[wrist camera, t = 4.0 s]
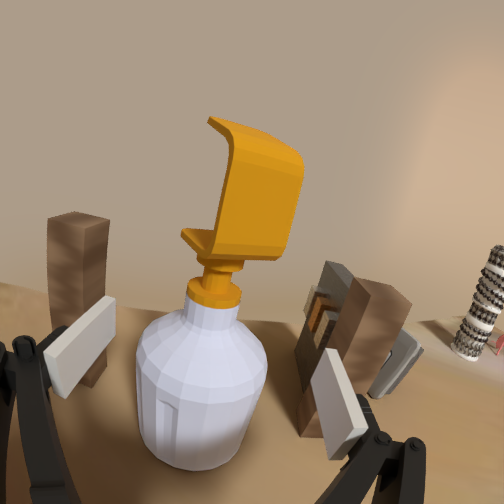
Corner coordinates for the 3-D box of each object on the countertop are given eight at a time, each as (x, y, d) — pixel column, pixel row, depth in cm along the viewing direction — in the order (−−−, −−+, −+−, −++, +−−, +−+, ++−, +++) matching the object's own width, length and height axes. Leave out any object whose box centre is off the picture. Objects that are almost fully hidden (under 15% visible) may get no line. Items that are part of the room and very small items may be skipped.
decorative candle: (445, 349, 46) (489, 239, 40) (452, 338, 52) (490, 242, 45) (476, 366, 39) (524, 255, 33) (479, 354, 45) (520, 256, 39)
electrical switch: (341, 361, 38) (370, 308, 35) (365, 362, 39) (393, 312, 37) (373, 402, 29) (412, 344, 27) (397, 399, 30) (433, 345, 28)
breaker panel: (296, 405, 27) (344, 294, 23) (286, 349, 38) (317, 258, 35) (325, 407, 27) (377, 301, 24) (309, 352, 38) (342, 264, 35)
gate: (60, 373, 21) (47, 218, 17) (77, 353, 25) (74, 211, 21) (336, 438, 23) (412, 304, 19) (329, 412, 26) (391, 285, 22)
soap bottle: (212, 391, 26) (269, 141, 20) (258, 455, 19) (368, 150, 13) (129, 403, 21) (153, 111, 15) (160, 483, 14) (208, 81, 8)
